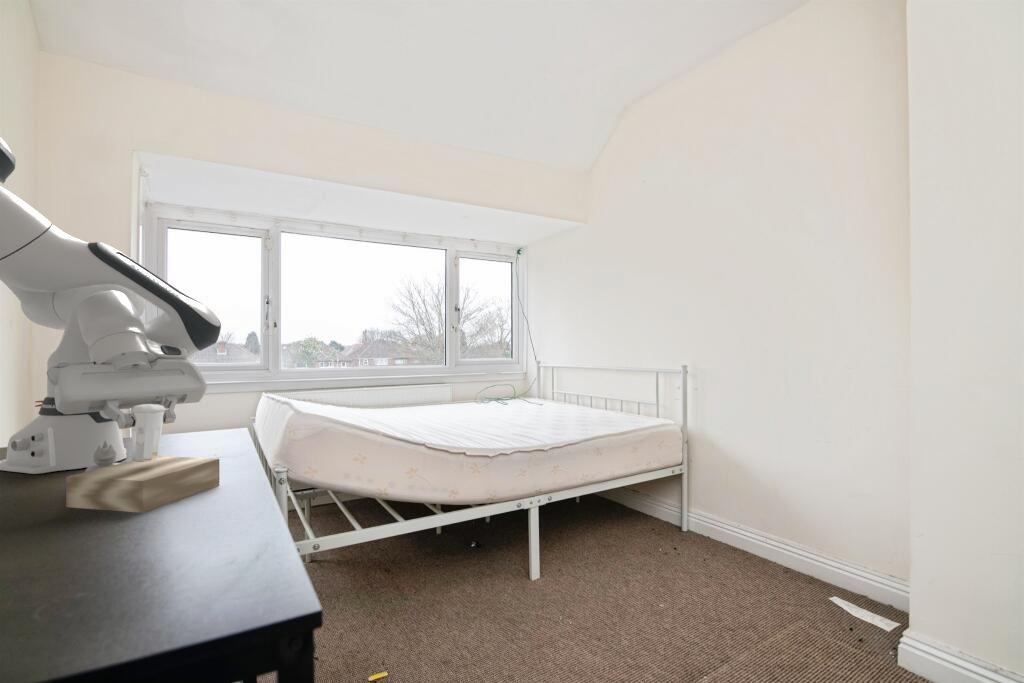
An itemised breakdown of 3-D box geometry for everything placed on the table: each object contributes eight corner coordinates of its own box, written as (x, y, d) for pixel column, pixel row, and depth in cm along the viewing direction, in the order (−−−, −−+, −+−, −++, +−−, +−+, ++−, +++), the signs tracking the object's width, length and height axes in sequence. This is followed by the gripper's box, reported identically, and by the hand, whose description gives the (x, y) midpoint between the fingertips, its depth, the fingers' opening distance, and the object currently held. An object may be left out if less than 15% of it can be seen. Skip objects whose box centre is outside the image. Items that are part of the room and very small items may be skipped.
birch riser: (66, 509, 72) (66, 476, 72) (152, 483, 86) (152, 455, 86) (143, 515, 70) (143, 480, 70) (219, 487, 83) (219, 458, 83)
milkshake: (173, 457, 80) (176, 397, 81) (145, 463, 75) (149, 399, 76) (148, 456, 81) (152, 396, 81) (119, 462, 75) (123, 398, 76)
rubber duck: (83, 492, 80) (84, 444, 80) (84, 483, 85) (85, 438, 85) (125, 485, 83) (125, 439, 84) (124, 478, 88) (124, 434, 89)
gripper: (48, 350, 73) (68, 419, 68) (195, 348, 90) (221, 404, 85) (39, 378, 76) (58, 447, 70) (184, 371, 93) (209, 426, 87)
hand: (149, 423), depth 78 cm, fingers closed on milkshake, 4 cm apart
